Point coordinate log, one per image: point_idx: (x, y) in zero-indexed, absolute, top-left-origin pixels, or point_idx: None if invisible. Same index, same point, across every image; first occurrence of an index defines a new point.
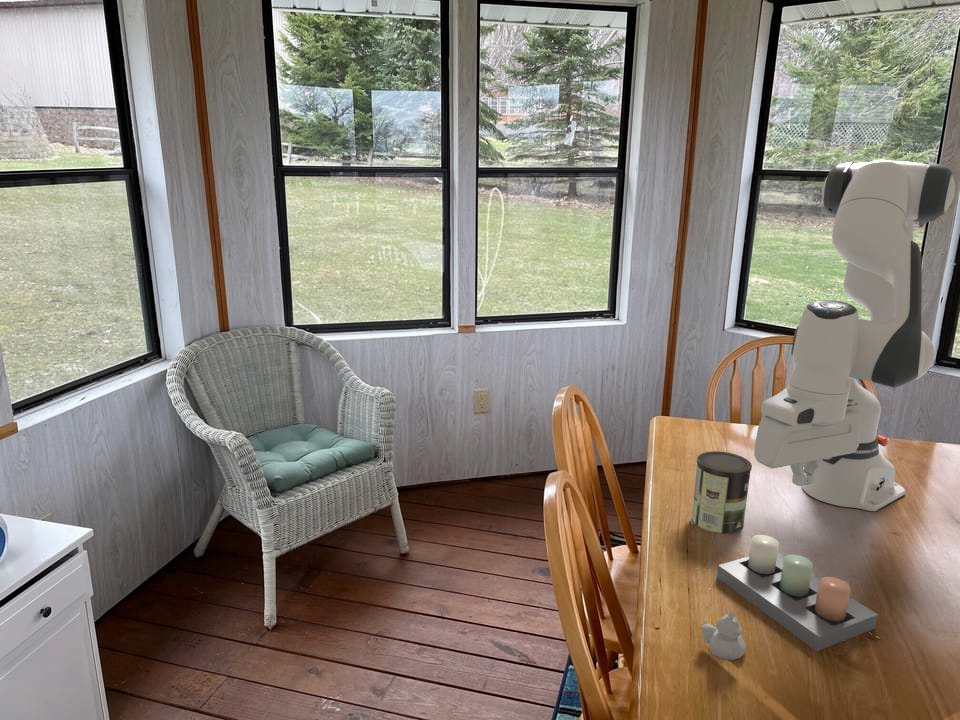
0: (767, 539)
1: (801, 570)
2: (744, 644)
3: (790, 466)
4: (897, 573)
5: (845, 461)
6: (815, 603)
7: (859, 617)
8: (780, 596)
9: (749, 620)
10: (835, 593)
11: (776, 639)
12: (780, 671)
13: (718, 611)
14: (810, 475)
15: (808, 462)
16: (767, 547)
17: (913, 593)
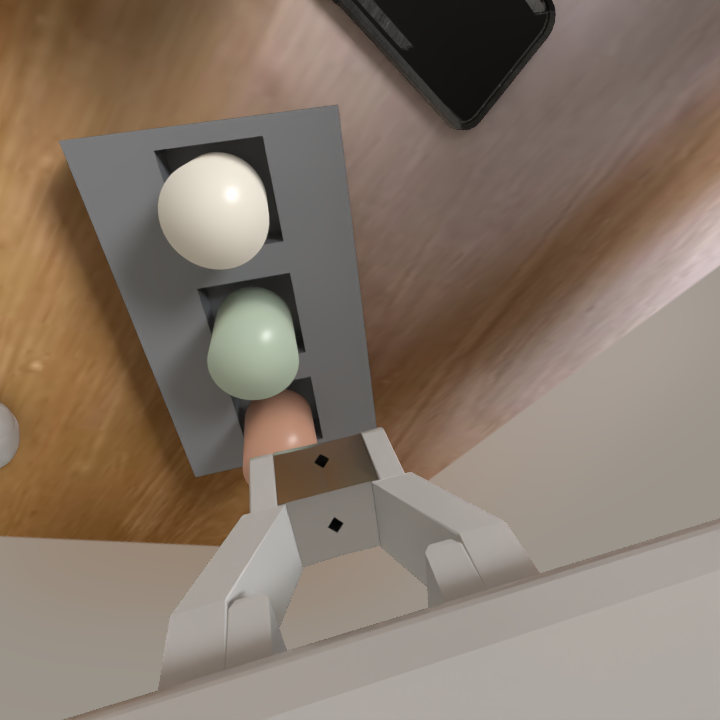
0: (234, 206)
1: (237, 395)
2: (3, 462)
3: (194, 585)
4: (607, 248)
5: None
6: (251, 409)
7: (332, 438)
8: (193, 344)
9: (111, 324)
10: None
11: (145, 391)
12: (100, 467)
13: (32, 273)
14: (364, 548)
15: (441, 536)
16: (198, 260)
17: (560, 320)
